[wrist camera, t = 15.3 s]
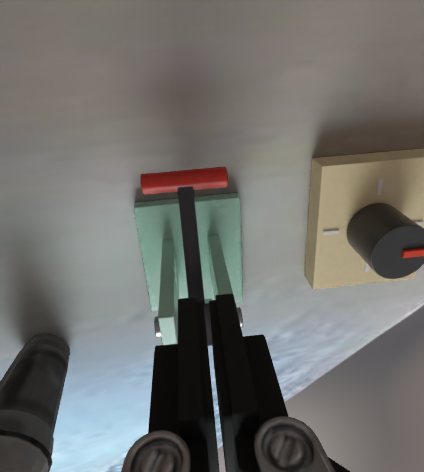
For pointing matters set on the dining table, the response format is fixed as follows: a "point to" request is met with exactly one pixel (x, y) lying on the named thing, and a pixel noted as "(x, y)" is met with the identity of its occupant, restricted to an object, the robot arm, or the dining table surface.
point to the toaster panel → (356, 209)
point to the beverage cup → (32, 404)
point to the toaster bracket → (172, 254)
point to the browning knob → (387, 240)
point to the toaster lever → (189, 220)
